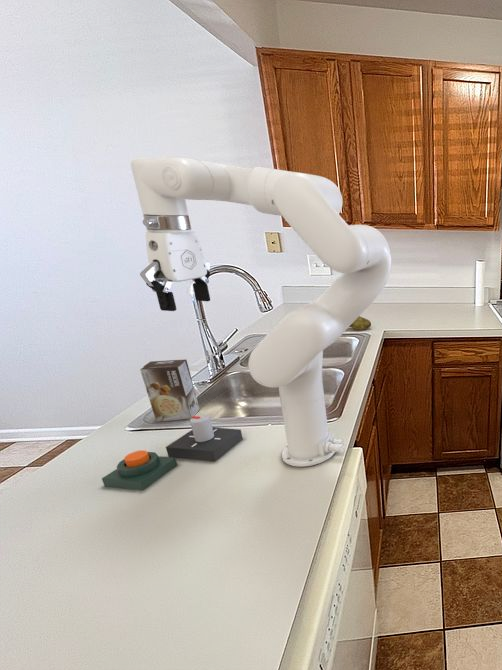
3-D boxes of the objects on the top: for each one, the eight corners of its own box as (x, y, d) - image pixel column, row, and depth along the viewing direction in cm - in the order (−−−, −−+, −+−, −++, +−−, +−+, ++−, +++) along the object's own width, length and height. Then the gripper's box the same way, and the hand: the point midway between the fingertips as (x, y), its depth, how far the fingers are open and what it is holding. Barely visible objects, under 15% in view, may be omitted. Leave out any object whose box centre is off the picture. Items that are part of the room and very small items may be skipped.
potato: (366, 332, 195) (364, 316, 192) (341, 330, 196) (340, 314, 193) (372, 327, 202) (371, 312, 199) (349, 326, 204) (347, 310, 201)
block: (177, 465, 93) (173, 450, 91) (143, 490, 84) (138, 475, 83) (142, 462, 93) (137, 447, 92) (104, 487, 85) (98, 471, 83)
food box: (200, 408, 118) (188, 358, 112) (192, 419, 112) (179, 366, 107) (164, 411, 116) (150, 360, 110) (154, 422, 110) (138, 369, 104)
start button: (154, 457, 89) (152, 451, 88) (138, 468, 85) (136, 461, 85) (138, 456, 89) (135, 449, 89) (121, 466, 86) (118, 460, 85)
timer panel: (243, 439, 104) (240, 428, 102) (215, 462, 94) (212, 450, 93) (200, 435, 105) (197, 425, 103) (168, 457, 95) (165, 446, 94)
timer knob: (218, 434, 100) (213, 413, 98) (206, 442, 96) (201, 421, 94) (203, 432, 100) (198, 412, 98) (190, 441, 97) (185, 420, 95)
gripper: (148, 226, 74) (170, 316, 80) (215, 224, 90) (229, 298, 96) (111, 225, 74) (136, 313, 80) (184, 222, 91) (200, 296, 97)
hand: (187, 305), depth 88 cm, fingers open, 9 cm apart
